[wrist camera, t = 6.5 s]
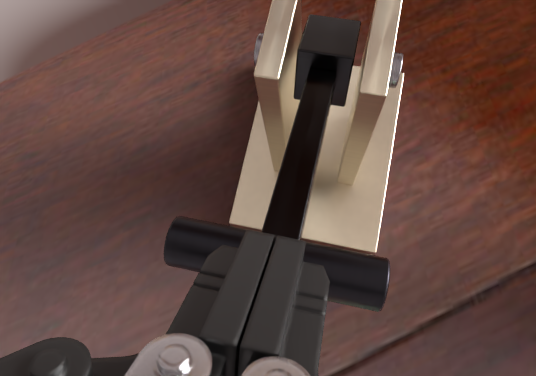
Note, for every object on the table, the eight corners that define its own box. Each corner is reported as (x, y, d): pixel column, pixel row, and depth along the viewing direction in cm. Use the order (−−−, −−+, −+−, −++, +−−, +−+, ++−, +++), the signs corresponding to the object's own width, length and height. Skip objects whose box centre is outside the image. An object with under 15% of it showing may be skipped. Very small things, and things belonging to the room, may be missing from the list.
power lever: (373, 328, 12) (393, 287, 11) (169, 282, 13) (156, 236, 11) (394, 75, 20) (407, 26, 18) (264, 56, 21) (265, 7, 19)
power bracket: (373, 255, 27) (430, 207, 15) (231, 226, 28) (175, 159, 16) (400, 81, 30) (467, -79, 18) (271, 62, 31) (250, -101, 19)
